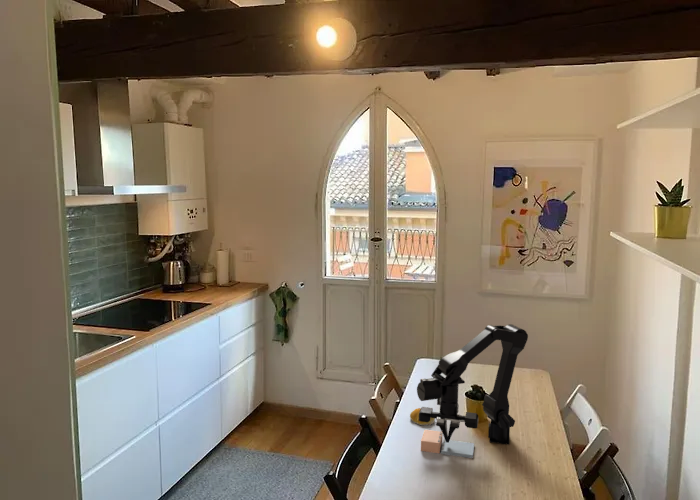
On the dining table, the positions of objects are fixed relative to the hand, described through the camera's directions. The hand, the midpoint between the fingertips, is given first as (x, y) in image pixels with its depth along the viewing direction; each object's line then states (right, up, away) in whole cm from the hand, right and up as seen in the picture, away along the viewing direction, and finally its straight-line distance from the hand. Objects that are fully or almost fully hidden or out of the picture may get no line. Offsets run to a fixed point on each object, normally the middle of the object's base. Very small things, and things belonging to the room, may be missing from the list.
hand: (447, 441), depth 177 cm
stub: (-5, -2, +2) cm, 6 cm away
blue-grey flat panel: (+3, -2, 0) cm, 4 cm away
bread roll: (-6, 0, +21) cm, 21 cm away
